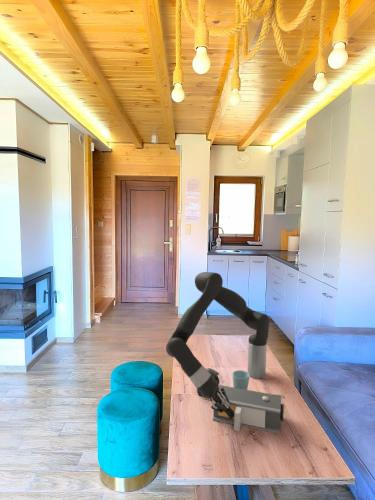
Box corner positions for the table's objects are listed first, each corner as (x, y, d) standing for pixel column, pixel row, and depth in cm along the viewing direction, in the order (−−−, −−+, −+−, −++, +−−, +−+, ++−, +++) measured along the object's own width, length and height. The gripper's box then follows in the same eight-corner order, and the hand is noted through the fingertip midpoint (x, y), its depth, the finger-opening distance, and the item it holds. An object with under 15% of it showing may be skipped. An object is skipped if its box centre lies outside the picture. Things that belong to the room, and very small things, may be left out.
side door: (236, 421, 126) (237, 404, 125) (264, 426, 123) (265, 409, 122) (234, 430, 121) (234, 412, 120) (263, 436, 117) (264, 418, 116)
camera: (216, 399, 143) (217, 378, 142) (195, 396, 145) (195, 375, 144) (220, 384, 156) (220, 364, 155) (200, 381, 158) (200, 362, 157)
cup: (235, 401, 141) (236, 379, 140) (229, 392, 149) (230, 371, 148) (251, 399, 143) (252, 377, 142) (244, 390, 150) (245, 369, 149)
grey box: (218, 404, 139) (219, 383, 138) (283, 417, 130) (284, 394, 129) (212, 420, 128) (213, 397, 127) (282, 434, 120) (283, 410, 119)
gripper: (205, 383, 116) (237, 421, 114) (213, 367, 129) (243, 401, 126) (191, 394, 119) (222, 432, 116) (201, 377, 131) (229, 411, 128)
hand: (233, 416), depth 121 cm, fingers closed
